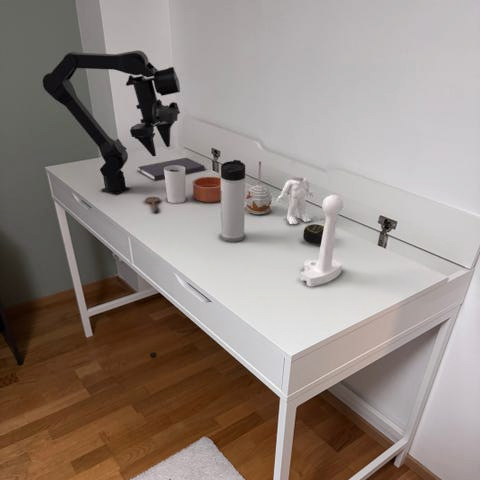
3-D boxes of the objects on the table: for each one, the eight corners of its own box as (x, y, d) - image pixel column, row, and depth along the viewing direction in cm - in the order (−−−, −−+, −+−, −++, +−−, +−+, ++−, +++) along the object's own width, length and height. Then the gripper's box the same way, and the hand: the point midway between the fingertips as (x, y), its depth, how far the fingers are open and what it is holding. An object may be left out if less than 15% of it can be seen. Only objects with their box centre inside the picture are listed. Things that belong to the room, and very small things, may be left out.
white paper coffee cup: (164, 203, 147) (161, 171, 141) (168, 195, 152) (165, 165, 146) (185, 203, 147) (183, 172, 141) (188, 196, 152) (186, 165, 146)
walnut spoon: (163, 212, 141) (163, 208, 140) (148, 213, 140) (148, 210, 139) (158, 198, 150) (158, 195, 149) (145, 199, 149) (144, 196, 148)
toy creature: (284, 227, 133) (287, 186, 126) (273, 219, 138) (276, 179, 131) (319, 220, 138) (324, 180, 131) (308, 213, 142) (312, 174, 135)
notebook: (154, 180, 164) (204, 169, 175) (154, 176, 163) (204, 165, 174) (137, 171, 172) (186, 161, 183) (137, 166, 171) (186, 157, 182)
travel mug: (247, 233, 129) (249, 161, 118) (239, 243, 124) (240, 168, 113) (226, 230, 131) (226, 158, 119) (217, 240, 126) (216, 165, 114)
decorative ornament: (248, 205, 147) (249, 156, 138) (272, 207, 145) (275, 158, 137) (243, 214, 140) (244, 164, 132) (268, 217, 139) (271, 166, 130)
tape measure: (321, 249, 122) (323, 236, 120) (298, 242, 125) (299, 229, 123) (331, 239, 127) (333, 227, 125) (309, 233, 130) (310, 221, 128)
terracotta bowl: (186, 199, 150) (185, 183, 147) (205, 189, 158) (205, 174, 155) (214, 206, 146) (214, 190, 143) (232, 195, 153) (232, 180, 150)
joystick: (313, 288, 106) (324, 204, 94) (290, 275, 111) (297, 194, 99) (345, 273, 112) (358, 192, 100) (321, 261, 117) (331, 183, 105)
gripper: (154, 103, 129) (169, 159, 138) (184, 88, 143) (196, 140, 152) (121, 107, 134) (138, 162, 142) (153, 92, 147) (167, 143, 156)
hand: (161, 151), depth 148 cm, fingers open, 9 cm apart
